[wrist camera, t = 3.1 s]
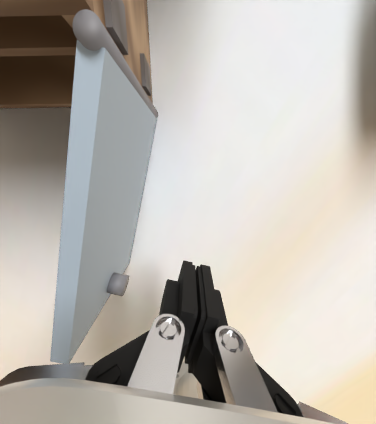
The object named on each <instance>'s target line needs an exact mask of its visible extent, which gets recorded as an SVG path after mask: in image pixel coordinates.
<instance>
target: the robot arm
mask: <svg viewBox="0 0 376 424" xmlns="http://www.w3.org/2000/svg"><path fill="white" fill-rule="evenodd" d="M0 424H348V423H346V422H344V421H342V420H339V419H337V418H335V417H333V416H330V415H328V414H326V413H324V412H322V411H319V410H317V409H315V408H313V407H310V406H308V405H306V404H304V403H301V402H299V403H298V404H296V402H295V400H294V399H293V398H292V397H291V396H290V395H289V394H288V393H287V392H286V391H285V390H284V389H283V388H282V387H281V386H280V385H279V384H278V383H277V382H276V381H275V380H274V379H273V378H272V377H270V376H269V375H268V374H267V373H266V372H265V371H264V370H263V369H262V368H261V367H260V366H259V365H258V364H257V363H256V362H255V360H254V358H253V356H252V354H251V351H250V349H249V347H248V345H247V343H246V340H245V339H244V337H243V336H242V334H241V333H240V332H239V331H237V330H236V329H235V328H232V327H230V326H228V324H227V319H226V315H225V311H224V307H223V302H222V298H221V294H220V291H219V290H215V289H214V285H213V280H212V275H211V270H210V266H206V265H200V267H199V266H197V268H196V271H195V265H192V262H188V261H183V264H182V267H181V271H180V275H179V278H178V281H173V280H169V279H167V282H166V286H165V290H164V294H163V298H162V303H161V308H160V314H159V316H158V317H157V318H155V320H154V322H153V324H152V326H151V329H150V330H149V331H148V332H146V333H144V334H143V335H141V336H139V337H138V338H136V339H134V340H132V341H131V342H129V343H127V344H126V345H124V346H122V347H121V348H119V349H117V350H116V351H114V352H112V353H110V354H109V355H107V356H105V357H104V358H102V359H100V360H99V361H98V362H96V363H95V364H94V365H87V366H84V363H71V364H57V365H42V366H28V367H24V368H19V369H17V370H15V371H13V372H11V373H9V374H8V375H7V376H6V377H4V378H3V379H2V380H1V381H0Z"/></svg>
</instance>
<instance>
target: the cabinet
mask: <svg viewBox="0 0 376 424" xmlns="http://www.w3.org/2000/svg"><path fill="white" fill-rule="evenodd" d="M84 9H87V10H91V11H93V12H94V13H95V14H96V15H97V16H98V17H99V19H100V20H101V22H102V23H103V25H104V27H105V28H106V30H107V32H108V33H109V35H110V36H111V38H112V40H113V41H114V43H115V44H116V46H117V48H118V49H119V51H120V52H121V54H122V56H123V57H124V59H125V61H126V62H127V64H128V65H129V67H130V69H131V70H132V72H133V73H134V75H135V77H136V78H137V80H138V81H139V83H140V85H141V86H142V88H143V90H144V91H145V93H146V94H147V96H148V98H149V99H150V101H151V102H152V86H151V68H150V50H149V32H148V14H147V0H0V108H52V107H71V105H72V93H73V81H74V69H75V57H76V45H77V40H78V39H77V38H76V36H75V34H74V32H73V26H72V24H73V19H74V16H75V15H76V13H77V12H79V11H80V10H84Z"/></svg>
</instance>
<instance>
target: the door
mask: <svg viewBox="0 0 376 424" xmlns="http://www.w3.org/2000/svg"><path fill="white" fill-rule="evenodd" d="M72 26H73V32H74V34H75V36H76V38H77V39H78V40H77V45H76V57H75V69H74V81H73V93H72V105H71V117H70V129H69V141H68V154H67V166H66V178H65V190H64V202H63V214H62V226H61V238H60V250H59V262H58V274H57V287H56V299H55V311H54V323H53V335H52V347H51V359H50V361H52V362H57V363H62V364H69V363H70V361H71V359H72V358H73V356H74V354H75V353H76V351H77V349H78V348H79V346H80V344H81V343H82V341H83V339H84V338H85V336H86V334H87V333H88V331H89V329H90V328H91V326H92V324H93V323H94V321H95V319H96V318H97V316H98V314H99V313H100V311H101V309H102V308H103V306H104V304H105V303H106V301H107V299H108V298H109V296H110V294H115V295H120V296H123V295H124V293H125V290H126V287H127V284H128V280H129V276H128V275H124V274H123V273H124V271H125V269H126V268H127V266H128V264H129V262H130V257H131V252H132V246H133V241H134V236H135V231H136V226H137V220H138V215H139V210H140V205H141V200H142V194H143V189H144V184H145V179H146V174H147V168H148V163H149V158H150V153H151V148H152V142H153V137H154V132H155V127H156V121H157V117H158V112H157V110H156V109H155V107H154V106H153V104H152V102H151V101H150V99H149V98H148V96H147V94H146V93H145V91H144V90H143V88H142V86H141V85H140V83H139V81H138V80H137V78H136V77H135V75H134V73H133V72H132V70H131V69H130V67H129V65H128V64H127V62H126V61H125V59H124V57H123V56H122V54H121V52H120V51H119V49H118V48H117V46H116V44H115V43H114V41H113V40H112V38H111V36H110V35H109V33H108V32H107V30H106V28H105V27H104V25H103V23H102V22H101V20H100V19H99V17H98V16H97V15H96V14H95V13H94V12H93V11H91V10H87V9H84V10H80V11H79V12H77V13H76V15H75V16H74V19H73V24H72Z"/></svg>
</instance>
